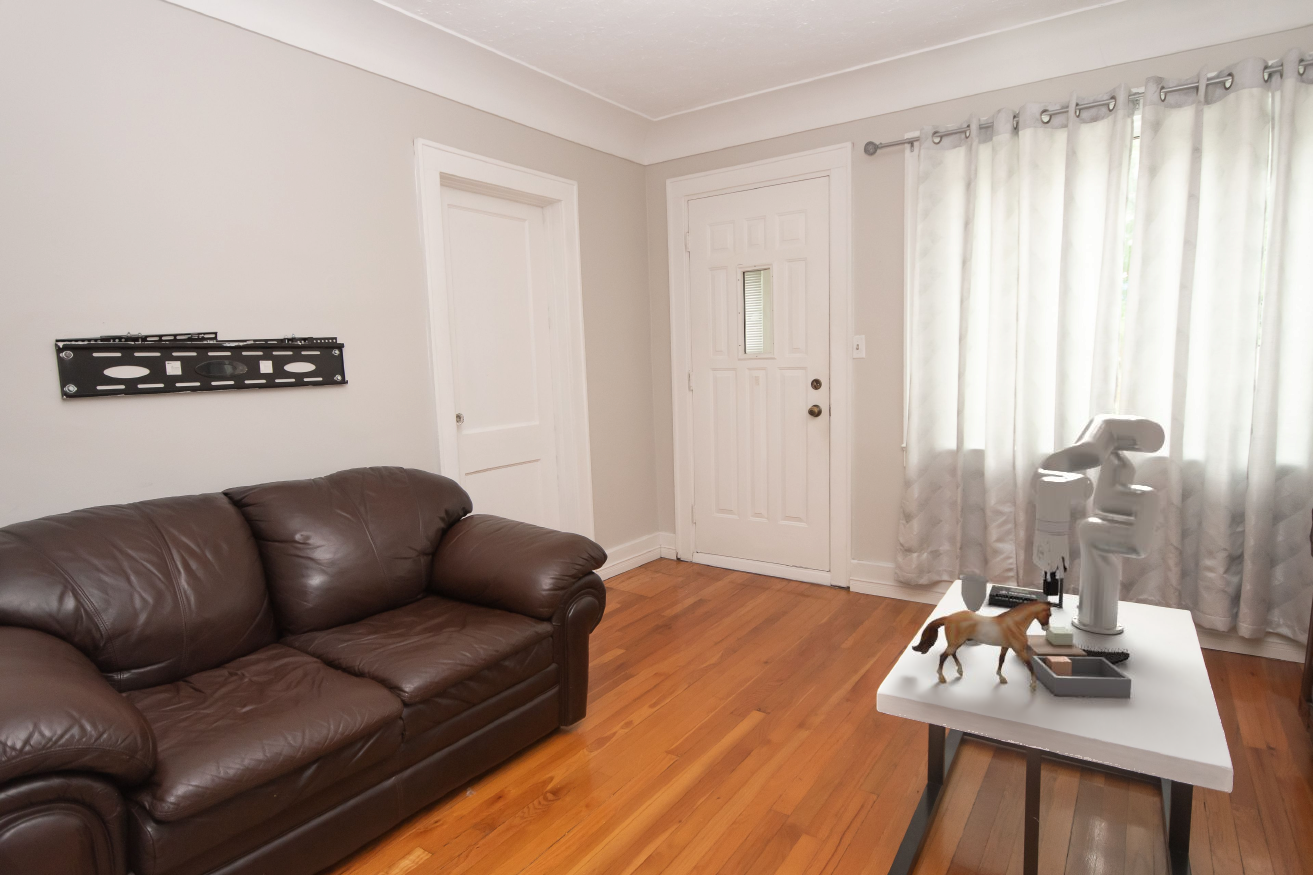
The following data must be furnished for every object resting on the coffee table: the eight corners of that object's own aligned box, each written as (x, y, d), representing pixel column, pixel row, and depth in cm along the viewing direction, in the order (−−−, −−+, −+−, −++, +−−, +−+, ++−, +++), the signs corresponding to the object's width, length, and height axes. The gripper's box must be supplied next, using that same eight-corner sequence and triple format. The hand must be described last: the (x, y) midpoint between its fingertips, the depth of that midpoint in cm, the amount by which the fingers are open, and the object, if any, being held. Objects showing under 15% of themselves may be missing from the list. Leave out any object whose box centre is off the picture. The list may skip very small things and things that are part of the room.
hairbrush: (1023, 628, 195) (1131, 645, 179) (1023, 641, 196) (1131, 659, 180) (1016, 638, 189) (1127, 656, 173) (1016, 651, 189) (1127, 671, 173)
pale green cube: (1045, 637, 182) (1046, 626, 182) (1063, 637, 182) (1064, 626, 181) (1053, 644, 178) (1054, 633, 177) (1072, 644, 177) (1073, 633, 177)
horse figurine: (1049, 682, 168) (1052, 599, 166) (1057, 697, 161) (1061, 610, 158) (911, 667, 177) (913, 588, 175) (912, 681, 170) (914, 598, 168)
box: (1031, 673, 173) (1032, 655, 172) (1102, 674, 171) (1103, 657, 171) (1054, 696, 161) (1055, 677, 161) (1130, 698, 160) (1131, 679, 159)
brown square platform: (1017, 652, 185) (1017, 634, 184) (1062, 653, 184) (1063, 635, 183) (1037, 672, 173) (1038, 653, 173) (1086, 673, 172) (1087, 654, 172)
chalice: (957, 644, 191) (959, 580, 189) (957, 635, 197) (959, 573, 195) (987, 648, 188) (989, 583, 186) (986, 638, 195) (988, 575, 193)
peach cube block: (1046, 656, 171) (1052, 661, 168) (1065, 656, 170) (1071, 661, 167) (1045, 673, 171) (1051, 679, 168) (1064, 673, 171) (1070, 679, 168)
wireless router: (988, 607, 220) (989, 554, 218) (992, 594, 232) (994, 543, 230) (1061, 618, 210) (1064, 562, 208) (1062, 604, 222) (1065, 551, 220)
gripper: (1024, 518, 187) (1022, 585, 189) (1051, 533, 172) (1049, 605, 174) (1053, 518, 186) (1051, 584, 188) (1083, 533, 171) (1081, 605, 174)
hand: (1050, 594), depth 181 cm, fingers closed
